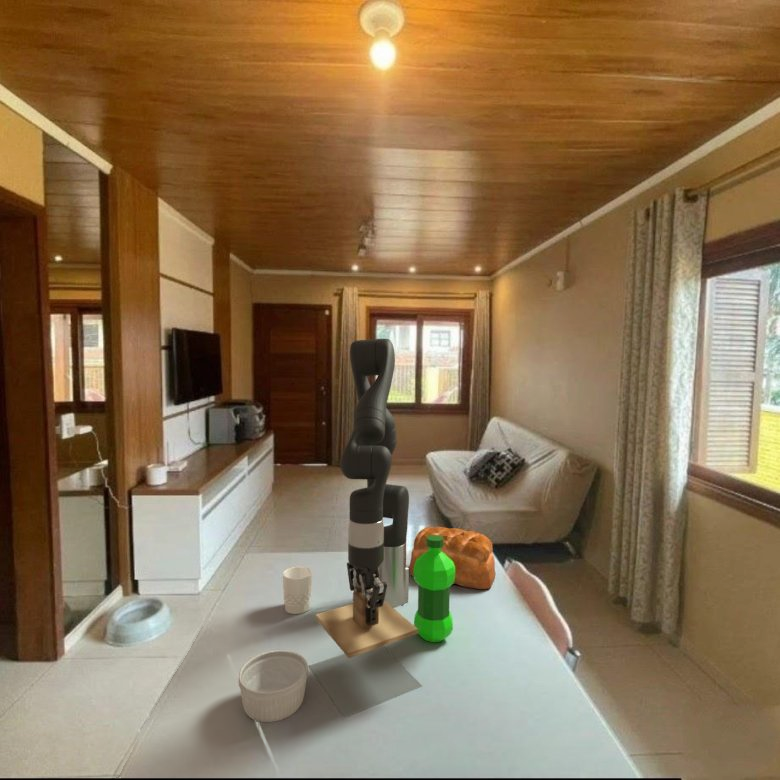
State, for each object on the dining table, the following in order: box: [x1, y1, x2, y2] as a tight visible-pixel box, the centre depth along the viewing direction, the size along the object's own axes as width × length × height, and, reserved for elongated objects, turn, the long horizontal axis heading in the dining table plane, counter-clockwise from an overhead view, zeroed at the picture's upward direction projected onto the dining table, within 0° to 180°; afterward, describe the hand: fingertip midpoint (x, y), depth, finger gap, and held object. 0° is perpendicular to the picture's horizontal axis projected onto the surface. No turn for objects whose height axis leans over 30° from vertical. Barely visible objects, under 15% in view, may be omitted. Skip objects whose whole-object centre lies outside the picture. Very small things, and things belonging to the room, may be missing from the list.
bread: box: [409, 526, 497, 590], centre depth 152 cm, size 14×26×16 cm, turn 69°
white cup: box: [282, 566, 313, 615], centre depth 131 cm, size 8×8×10 cm
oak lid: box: [315, 589, 419, 658], centre depth 101 cm, size 16×16×7 cm
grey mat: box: [308, 646, 423, 719], centre depth 102 cm, size 18×18×1 cm
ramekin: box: [238, 650, 309, 723], centre depth 94 cm, size 13×13×7 cm
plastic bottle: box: [413, 535, 455, 643], centre depth 117 cm, size 10×10×25 cm
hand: (365, 617), depth 102 cm, fingers closed on oak lid, 4 cm apart
